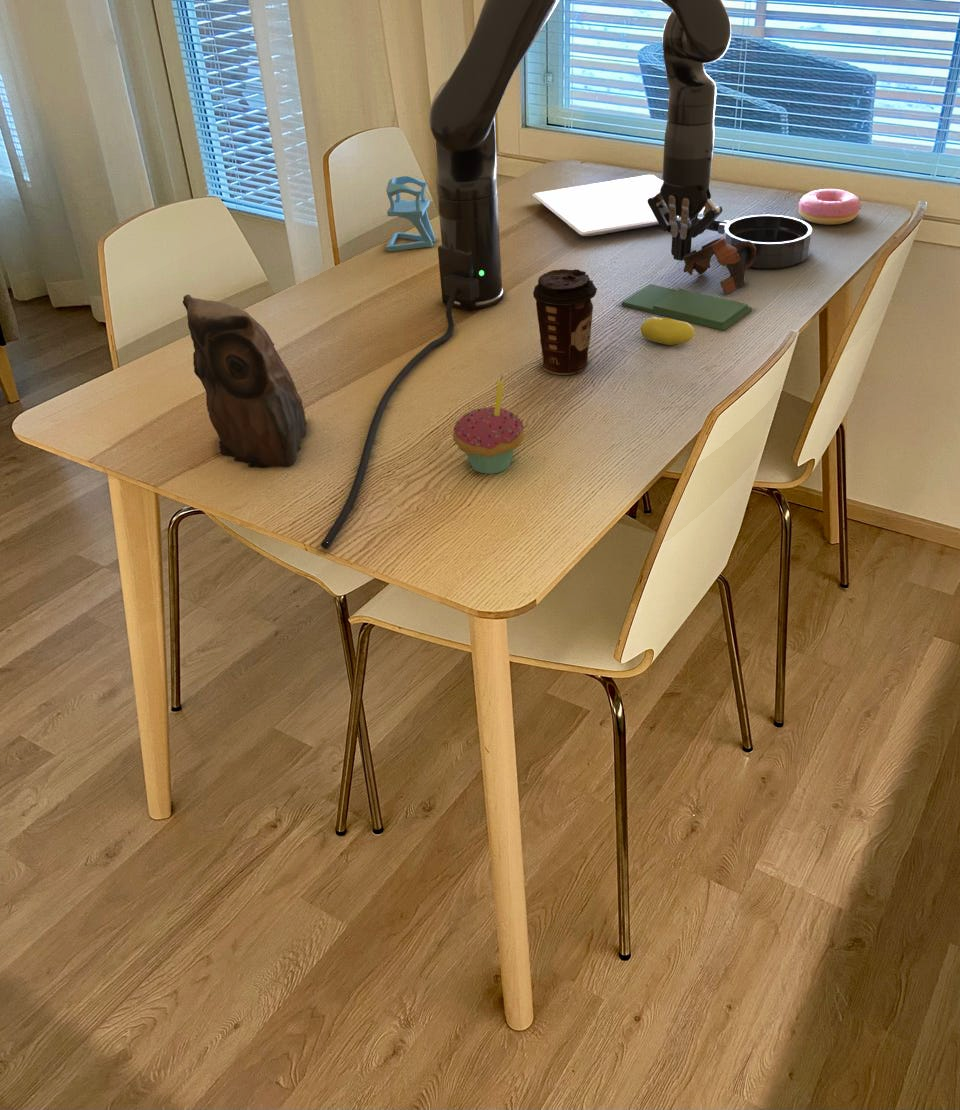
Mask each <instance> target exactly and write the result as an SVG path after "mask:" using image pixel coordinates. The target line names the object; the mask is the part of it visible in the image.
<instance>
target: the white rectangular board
mask: <svg viewBox="0 0 960 1110" xmlns="http://www.w3.org/2000/svg"><path fill="white" fill-rule="evenodd" d="M662 184H663V179H662V180H661V179H660V178H658V177H657V176H656V175H654V174H644V175H637V176H631V177H625V178H619V179H613V180H608V181H600V182H594V183H589V184H582V185H576V186H575V185H574V186H570V187H563V188H557V189H551V190H545V191H539V192H534V193H532V194H531V196H532V197H534V198H535V199H536V200H537V201H538V202H540V204H542V205H543V206H545V207H546V208H547V209H548V210H549V211H551V212H552V213H553V215H555V216H556V217H557V218H559V219H560V220H562V222H564V223H565V224H566V225H567V226H568V227H570V228H571V229H572V230H573V231H574V232H576V233H577V234H578V235H579V236H582V237H594V236H600V235H606V234H612V233H617V232H623V231H624V232H625V231H629V230H636V229H643V228H646V227H653V226H658V225H659V223H658V221H657V219H656V217H655V216H654V214H653V212H652V210H651V208H650V206H649V205H648V202H647V200H648V199H649V198H651V197H652V196H654V195H656V194H658V193H660V188H661V186H662ZM704 210H705V207H704V208H703V209H702V210H701V211H700V213H699V214H698V217H704V215H703V212H704ZM659 226H660V225H659Z"/></svg>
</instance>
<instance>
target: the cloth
mask: <svg viewBox="0 0 960 1110" xmlns="http://www.w3.org/2000/svg"><path fill="white" fill-rule="evenodd" d="M621 306H623V307H627V308H632V309H636V310H640V311H643V312H646V313H647V312H648V313H650V314H651V313H652V314H656V315H659V316H664V317H666V318H671V319H674V320H678V321H683V322H687V323H690V324H691V323H692V324H695V325H700V326H704V327H709V328H712V329H715V330H720V331H726V330H727V329H728V328H730V327H732V326H733V325H734V324H735V323H737V322H738V321H740V320H741V319H742V318H743V317H745V316H747V315H748V314H749V313H750V312H751V311H752V306H749V303H746V302H740V301H736V300H731V299H728V298H724V297H719V296H715V295H710V294H706V293H701V292H697V291H693V290H689V289H688V290H687V289H683V288H678V289H674V288H669V287H664V286H660V285H656V284H652V283H649V284H648V285H647V286H646V287H644V288H642V289H640V290H639V291H638V292H636V293H634V294H633V295H631V296H629V297H628V298H626V299H624V300H623V301H622V302H621Z"/></svg>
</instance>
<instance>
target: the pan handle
mask: <svg viewBox="0 0 960 1110" xmlns="http://www.w3.org/2000/svg"><path fill="white" fill-rule="evenodd" d="M702 218H703V216H700V217H698V218H697V221H696V223H695V226H696V225H697V224H698V223H699V221H700V220H701V219H702ZM731 221H732V220H717V219H715V220H714V221H713V222H712V223H711V224H710V225H709V227H708V228H707V229H706V230H708V231H712V232H717V234H720V235H724V228H725V226H726V225H727V224H728V223H729V222H731Z"/></svg>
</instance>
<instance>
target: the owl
mask: <svg viewBox="0 0 960 1110" xmlns="http://www.w3.org/2000/svg"><path fill="white" fill-rule="evenodd" d="M182 299H183V300H182V304H183V306H184V307H185V310H186V317H187V327H188V330H189V332H190V333H189V334H190V338H191V340H192V343H193V344H192V345H193V349H194V352H193V355H192V356H193V363H192V364H193V372H194V374H195V376H196V377H197V379H199V380H200V382H201V384H202V387H203V389H204V390H205V395H206V396H205V400H206V410H207V412H208V417H209V421H210V422H211V425H212V427H213V428H214V431H215V432H216V434H217V436H218V438H219V441H218V444H219V445H218V448H219V453H220V455H221V456H223V457H224V456H225V457H231V458H234V460H233V461H234V462H237V463H238V462H240V463H244V464H247V467H248V468H259V469H264V468H271V467H273V468H274V467H276V468H277V467H284V468H290V467H291V466H293V465H294V464H295V463H296V462H297V459H298V452H299V451H300V450H301V444H302V441H303V439H304V438H305V437H306V435H307V430H306V429H307V426H308V425H307V424H308V423H307V421H306V420H307V419H306V412H305V407H304V406H303V400H302V397H301V395H300V394H299V392H298V390H297V387H296V385H295V382H294V380H293V378H292V376H291V373H290V372H289V369H288V368H287V366H286V365H285V363H284V361H283V360H282V358H281V356H280V355H279V353H278V351H277V350H276V349H277V348H276V347H275V343H274V342H273V340H272V338H271V337H270V335H269V333H268V332H267V330H266V329H265V327H263V326H262V324H260V323H259V322H258V321H257V320H256V319H255V318H253V316H251V315H250V314H249V313H248V312H247V311H246V310H244V309H242V308H240V307H238V306H232V305H230V304H229V303H225V302H220V301H217V300H209V299H203V298H197V297H192V296H191V295H190V294H185V295H184V296H183V298H182Z"/></svg>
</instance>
